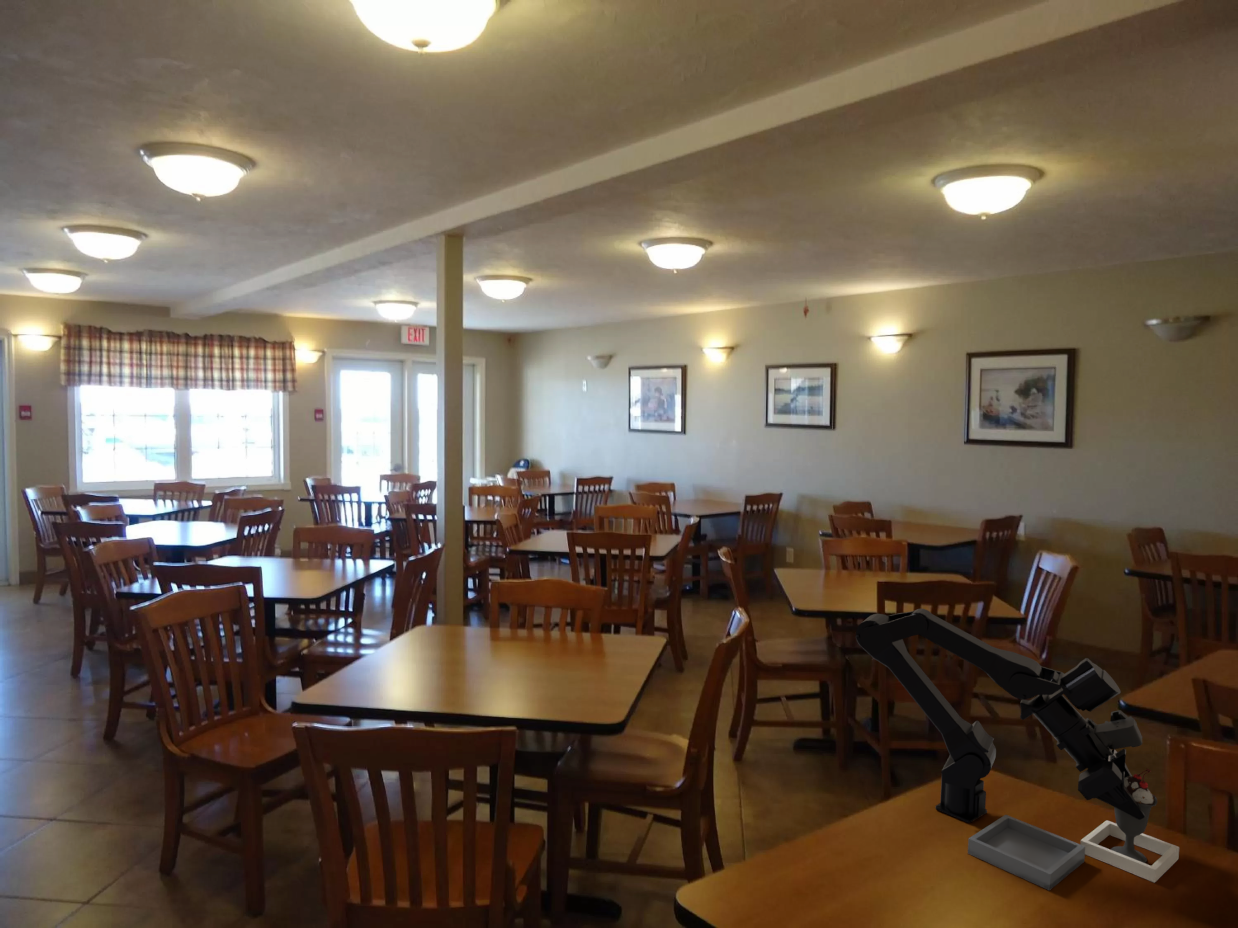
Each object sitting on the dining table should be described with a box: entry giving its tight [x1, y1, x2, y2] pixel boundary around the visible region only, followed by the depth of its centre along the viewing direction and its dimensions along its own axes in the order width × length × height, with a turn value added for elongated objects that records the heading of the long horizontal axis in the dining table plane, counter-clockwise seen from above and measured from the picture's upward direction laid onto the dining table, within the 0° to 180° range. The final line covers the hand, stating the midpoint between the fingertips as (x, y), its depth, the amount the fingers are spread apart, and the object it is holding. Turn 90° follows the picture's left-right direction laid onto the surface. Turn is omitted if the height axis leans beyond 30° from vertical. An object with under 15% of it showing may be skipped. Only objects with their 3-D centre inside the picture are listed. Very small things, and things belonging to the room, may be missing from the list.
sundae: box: [1110, 768, 1158, 864], centre depth 130 cm, size 7×7×15 cm
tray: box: [967, 814, 1086, 891], centre depth 129 cm, size 13×13×2 cm
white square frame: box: [1079, 820, 1180, 884], centre depth 130 cm, size 11×11×2 cm
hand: (1142, 809), depth 129 cm, fingers closed on sundae, 6 cm apart
